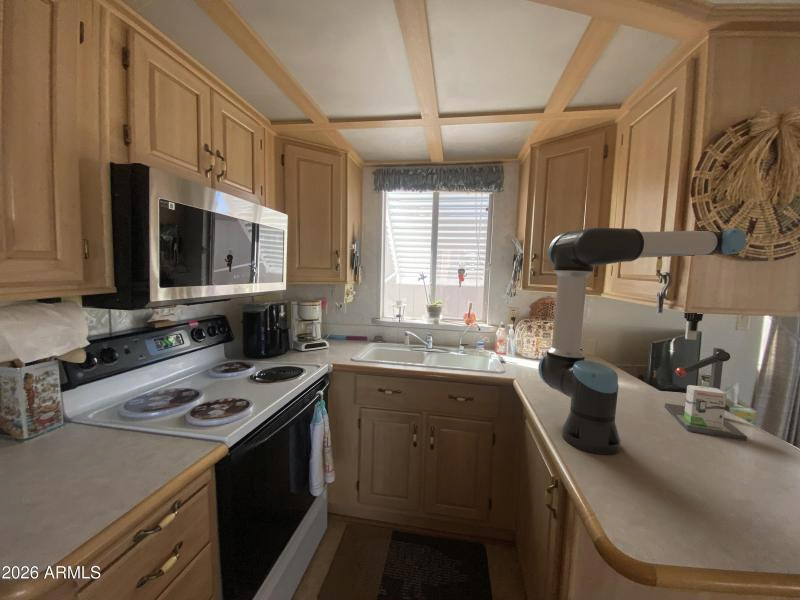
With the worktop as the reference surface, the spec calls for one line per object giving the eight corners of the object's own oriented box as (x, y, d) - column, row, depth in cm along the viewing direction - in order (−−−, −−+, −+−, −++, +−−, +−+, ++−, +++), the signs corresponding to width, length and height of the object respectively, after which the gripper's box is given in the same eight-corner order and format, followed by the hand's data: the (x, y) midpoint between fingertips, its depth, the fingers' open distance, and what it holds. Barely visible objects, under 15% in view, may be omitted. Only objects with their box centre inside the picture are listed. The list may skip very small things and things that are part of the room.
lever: (733, 359, 111) (727, 349, 111) (681, 379, 117) (674, 370, 118) (728, 356, 114) (722, 348, 114) (677, 376, 120) (671, 368, 120)
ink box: (690, 423, 106) (693, 389, 105) (683, 417, 111) (686, 384, 110) (723, 428, 103) (727, 393, 102) (714, 422, 108) (718, 388, 107)
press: (746, 441, 99) (755, 362, 97) (687, 430, 105) (694, 356, 103) (712, 414, 119) (720, 347, 116) (664, 406, 124) (670, 343, 122)
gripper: (720, 274, 107) (712, 343, 109) (702, 274, 119) (695, 337, 121) (692, 273, 110) (685, 341, 112) (677, 274, 122) (670, 335, 124)
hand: (690, 339), depth 116 cm, fingers closed
